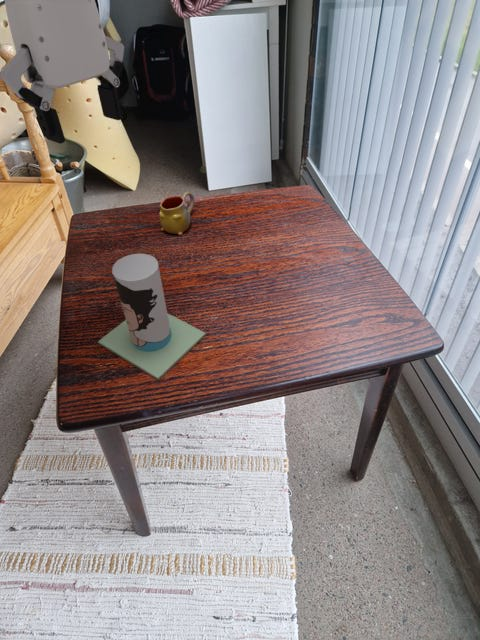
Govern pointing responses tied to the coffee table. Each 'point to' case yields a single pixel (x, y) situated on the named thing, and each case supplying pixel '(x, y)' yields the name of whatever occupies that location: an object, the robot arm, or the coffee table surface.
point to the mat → (156, 360)
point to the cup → (143, 301)
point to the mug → (176, 213)
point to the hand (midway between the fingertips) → (86, 128)
